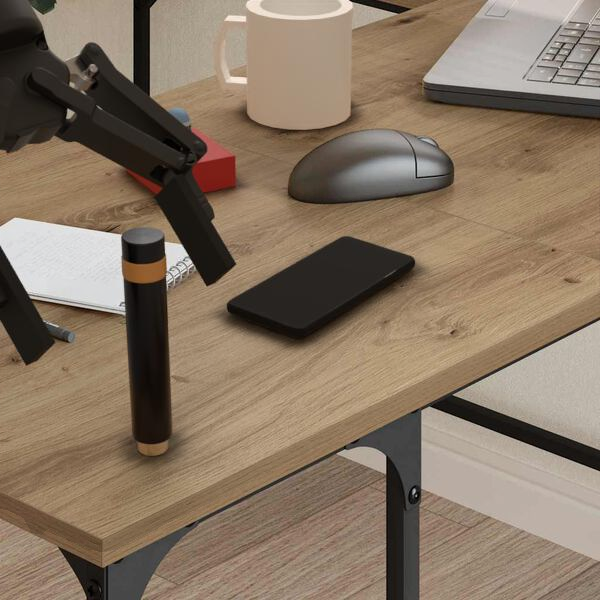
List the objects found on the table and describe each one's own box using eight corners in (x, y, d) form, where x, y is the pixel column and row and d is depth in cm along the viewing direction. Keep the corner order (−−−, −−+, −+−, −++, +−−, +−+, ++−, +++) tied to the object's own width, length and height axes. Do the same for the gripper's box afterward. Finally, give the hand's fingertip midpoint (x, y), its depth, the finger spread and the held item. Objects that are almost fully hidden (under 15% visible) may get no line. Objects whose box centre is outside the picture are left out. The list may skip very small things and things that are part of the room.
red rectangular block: (235, 186, 122) (234, 116, 119) (163, 200, 119) (160, 129, 116) (195, 156, 128) (193, 89, 125) (125, 169, 125) (122, 101, 122)
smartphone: (419, 257, 107) (300, 331, 96) (418, 267, 107) (300, 342, 96) (344, 233, 110) (222, 302, 100) (344, 243, 111) (222, 313, 100)
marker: (145, 464, 83) (134, 248, 77) (124, 445, 85) (111, 232, 79) (181, 451, 85) (173, 237, 78) (160, 432, 86) (150, 222, 80)
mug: (202, 123, 136) (199, 14, 131) (227, 89, 145) (225, -14, 140) (341, 133, 134) (343, 22, 129) (358, 98, 142) (361, -6, 138)
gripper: (97, 3, 95) (257, 272, 93) (-253, 88, 79) (-71, 417, 76) (146, -64, 89) (317, 221, 87) (-222, 13, 73) (-23, 365, 71)
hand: (136, 313), depth 82 cm, fingers open, 13 cm apart
